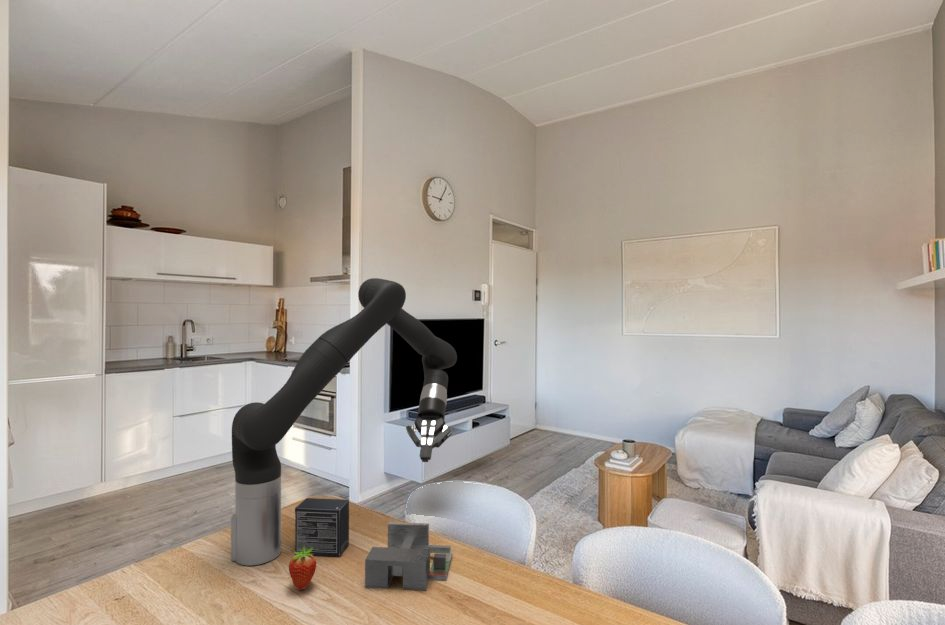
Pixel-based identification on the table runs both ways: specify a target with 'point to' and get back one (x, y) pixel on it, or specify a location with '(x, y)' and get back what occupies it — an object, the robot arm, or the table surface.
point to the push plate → (411, 540)
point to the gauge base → (412, 563)
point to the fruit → (302, 568)
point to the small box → (322, 526)
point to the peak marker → (439, 561)
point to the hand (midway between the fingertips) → (424, 460)
